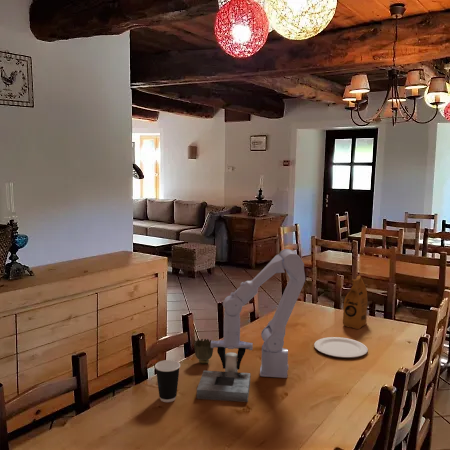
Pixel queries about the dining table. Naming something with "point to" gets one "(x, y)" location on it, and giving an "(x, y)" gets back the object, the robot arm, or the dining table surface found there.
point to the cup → (203, 350)
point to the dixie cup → (167, 379)
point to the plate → (341, 347)
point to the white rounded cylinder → (231, 362)
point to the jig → (224, 386)
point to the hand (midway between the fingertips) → (231, 367)
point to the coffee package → (355, 305)
